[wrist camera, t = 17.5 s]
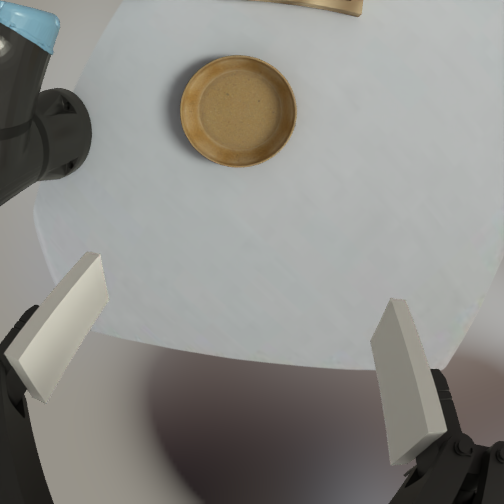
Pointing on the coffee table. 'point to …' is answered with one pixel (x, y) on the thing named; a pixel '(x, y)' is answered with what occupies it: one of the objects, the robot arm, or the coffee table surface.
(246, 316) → the coffee table surface
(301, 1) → the plinth
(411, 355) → the robot arm
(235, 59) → the plant saucer
